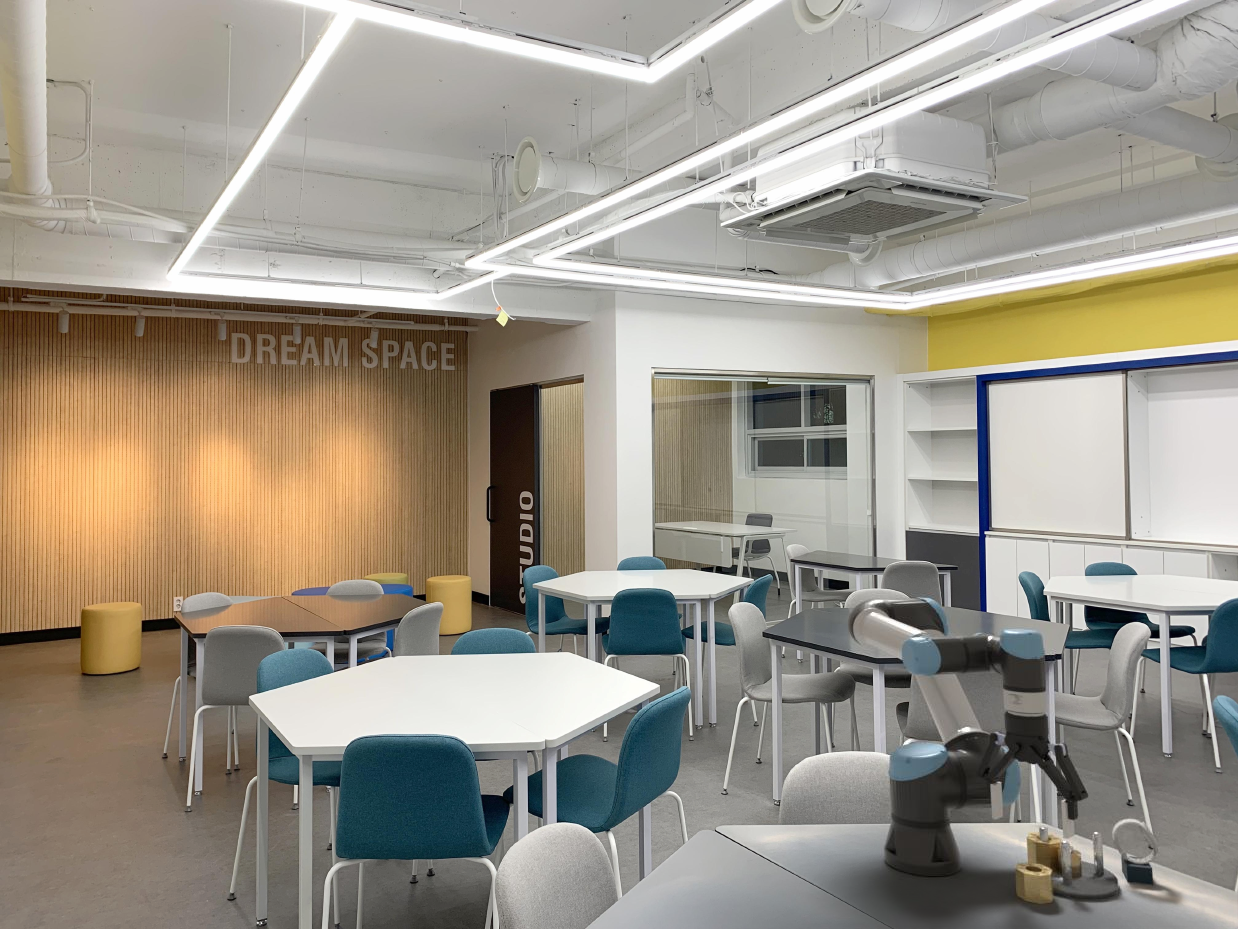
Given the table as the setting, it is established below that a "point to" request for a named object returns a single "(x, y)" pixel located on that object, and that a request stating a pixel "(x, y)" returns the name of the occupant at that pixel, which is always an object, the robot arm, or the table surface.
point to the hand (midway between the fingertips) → (1032, 827)
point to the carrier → (1081, 872)
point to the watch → (1137, 866)
